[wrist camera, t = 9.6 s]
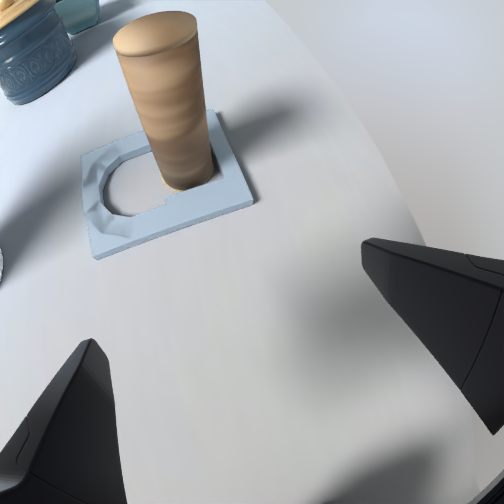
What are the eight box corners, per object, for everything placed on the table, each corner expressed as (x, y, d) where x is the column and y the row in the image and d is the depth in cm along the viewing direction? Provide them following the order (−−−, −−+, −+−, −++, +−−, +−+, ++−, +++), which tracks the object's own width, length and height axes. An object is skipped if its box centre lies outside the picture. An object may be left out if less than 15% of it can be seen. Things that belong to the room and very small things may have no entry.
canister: (81, 42, 33) (54, -37, 17) (74, 82, 30) (31, -17, 13) (19, 74, 32) (-18, 5, 15) (3, 120, 28) (-51, 42, 11)
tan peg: (184, 200, 24) (140, 59, 11) (152, 170, 25) (99, 39, 11) (223, 167, 26) (214, 21, 12) (189, 140, 26) (164, 6, 13)
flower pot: (105, 10, 37) (96, -24, 29) (107, 23, 35) (96, -15, 27) (65, 28, 36) (52, -4, 27) (62, 44, 34) (47, 8, 25)
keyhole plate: (95, 260, 23) (90, 257, 22) (82, 162, 26) (79, 156, 25) (252, 204, 25) (253, 199, 24) (213, 115, 28) (213, 108, 27)
